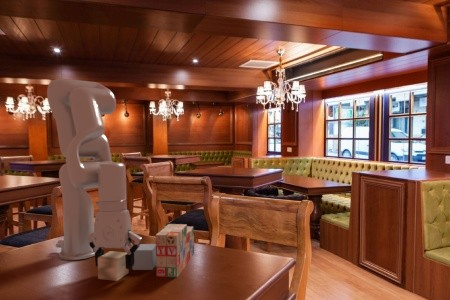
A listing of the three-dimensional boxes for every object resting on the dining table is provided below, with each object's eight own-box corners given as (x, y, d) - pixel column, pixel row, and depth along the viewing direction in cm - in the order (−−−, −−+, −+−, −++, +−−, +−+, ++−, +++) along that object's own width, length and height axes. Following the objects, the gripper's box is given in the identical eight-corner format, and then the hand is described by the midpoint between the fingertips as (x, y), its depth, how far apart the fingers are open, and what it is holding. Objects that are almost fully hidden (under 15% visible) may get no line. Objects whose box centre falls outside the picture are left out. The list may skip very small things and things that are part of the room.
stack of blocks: (176, 252, 119) (176, 217, 119) (194, 253, 118) (194, 217, 118) (155, 277, 98) (155, 234, 97) (177, 278, 97) (176, 234, 97)
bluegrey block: (132, 270, 103) (132, 250, 103) (137, 262, 109) (137, 244, 109) (152, 270, 103) (152, 250, 103) (156, 262, 109) (156, 244, 109)
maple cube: (98, 279, 97) (97, 257, 96) (110, 271, 102) (110, 251, 102) (116, 281, 95) (116, 259, 95) (128, 273, 101) (128, 252, 101)
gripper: (78, 207, 97) (80, 268, 97) (133, 209, 92) (134, 273, 92) (95, 203, 104) (96, 260, 104) (146, 204, 99) (148, 263, 99)
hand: (114, 266), depth 98 cm, fingers open, 9 cm apart
